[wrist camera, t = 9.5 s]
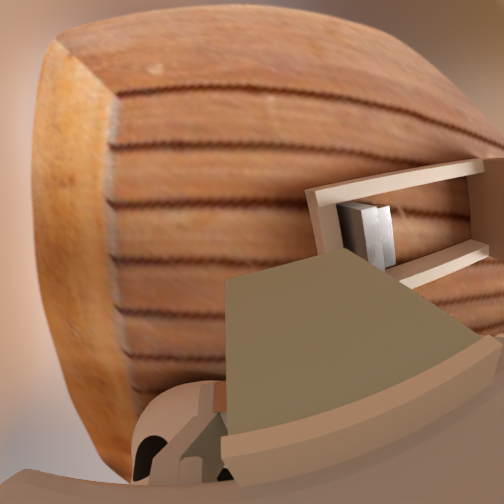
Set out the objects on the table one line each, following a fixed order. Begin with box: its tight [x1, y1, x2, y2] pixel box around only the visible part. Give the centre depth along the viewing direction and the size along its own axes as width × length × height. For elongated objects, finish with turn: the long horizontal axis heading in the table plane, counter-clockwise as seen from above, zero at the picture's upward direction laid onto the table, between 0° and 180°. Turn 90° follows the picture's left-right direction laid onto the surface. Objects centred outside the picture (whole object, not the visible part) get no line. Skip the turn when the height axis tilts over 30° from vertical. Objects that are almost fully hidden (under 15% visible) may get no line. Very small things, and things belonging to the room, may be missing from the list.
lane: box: [305, 158, 504, 289], centre depth 21 cm, size 22×10×6 cm, turn 104°
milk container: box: [130, 380, 235, 485], centre depth 19 cm, size 17×17×18 cm
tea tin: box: [221, 248, 503, 487], centre depth 9 cm, size 6×6×9 cm
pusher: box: [336, 201, 396, 272], centre depth 21 cm, size 4×7×6 cm, turn 14°
